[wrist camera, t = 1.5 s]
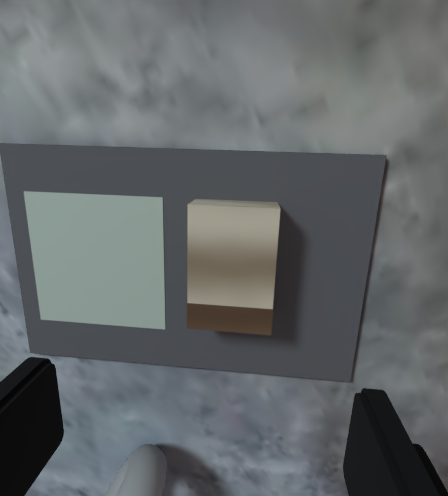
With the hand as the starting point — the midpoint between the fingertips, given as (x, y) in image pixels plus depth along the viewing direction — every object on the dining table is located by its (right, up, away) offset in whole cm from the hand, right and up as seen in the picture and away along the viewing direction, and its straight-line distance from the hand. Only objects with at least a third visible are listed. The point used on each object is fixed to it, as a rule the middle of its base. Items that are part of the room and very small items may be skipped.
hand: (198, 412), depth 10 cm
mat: (-2, +4, +16) cm, 17 cm away
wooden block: (+2, +4, +15) cm, 16 cm away
